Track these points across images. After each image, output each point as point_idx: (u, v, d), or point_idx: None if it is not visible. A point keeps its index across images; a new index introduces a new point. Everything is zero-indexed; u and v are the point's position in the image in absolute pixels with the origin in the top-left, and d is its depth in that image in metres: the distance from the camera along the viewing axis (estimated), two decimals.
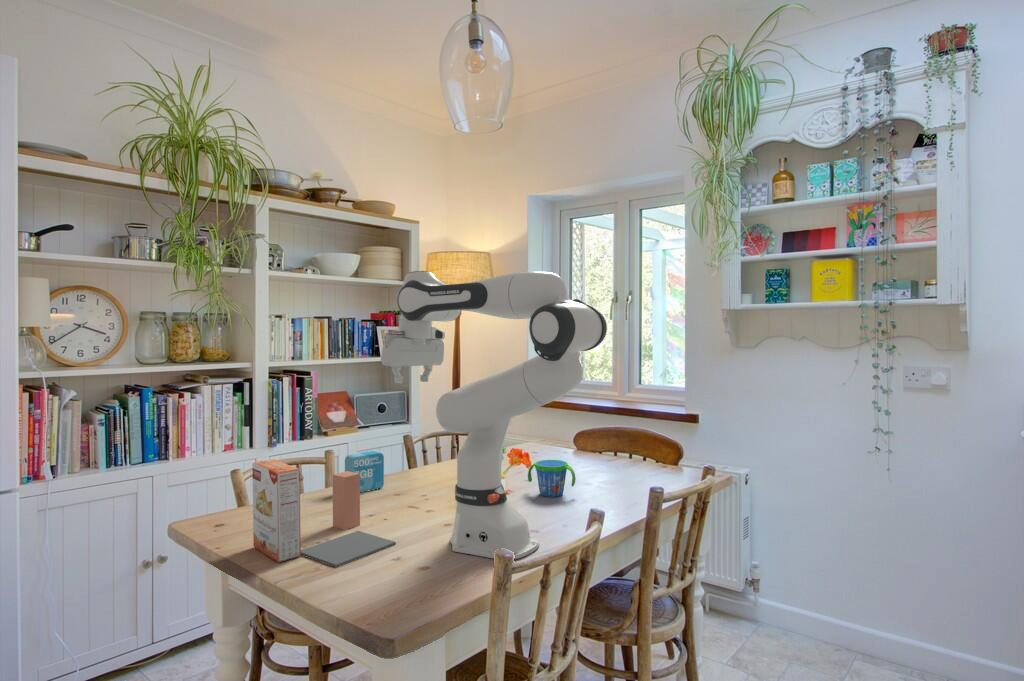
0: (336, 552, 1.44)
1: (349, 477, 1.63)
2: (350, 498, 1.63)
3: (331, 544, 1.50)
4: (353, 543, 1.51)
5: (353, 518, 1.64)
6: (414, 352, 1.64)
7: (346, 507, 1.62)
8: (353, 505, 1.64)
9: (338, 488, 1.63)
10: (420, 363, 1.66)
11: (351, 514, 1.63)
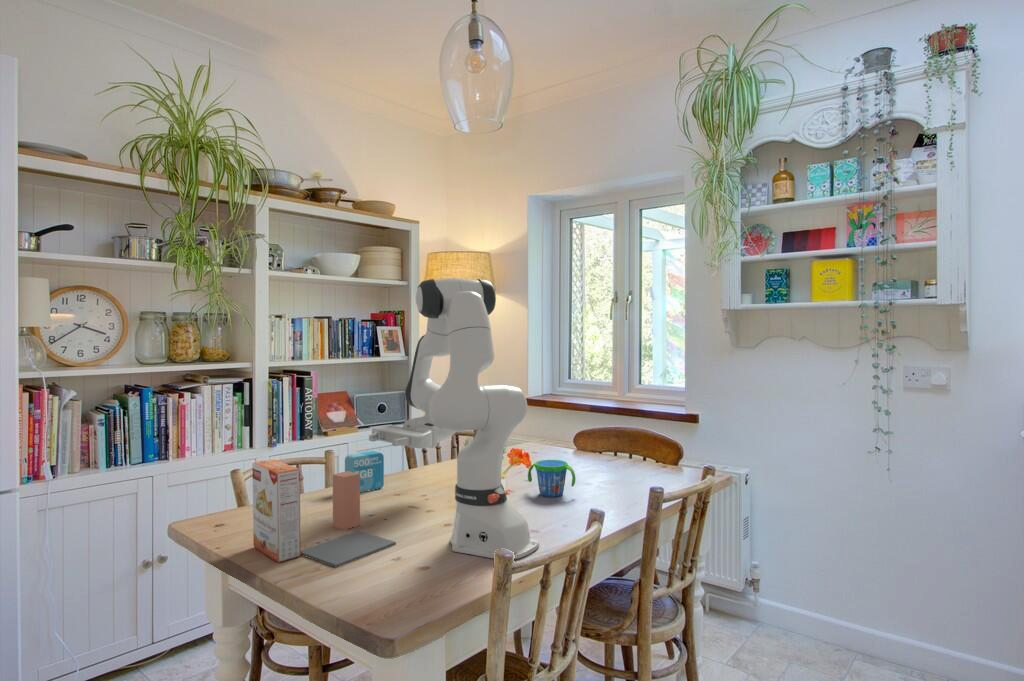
0: (336, 552, 1.44)
1: (349, 477, 1.63)
2: (351, 498, 1.63)
3: (331, 544, 1.50)
4: (353, 543, 1.51)
5: (353, 518, 1.64)
6: (399, 429, 1.83)
7: (346, 507, 1.62)
8: (353, 505, 1.64)
9: (338, 488, 1.63)
10: (398, 431, 1.79)
11: (351, 514, 1.63)
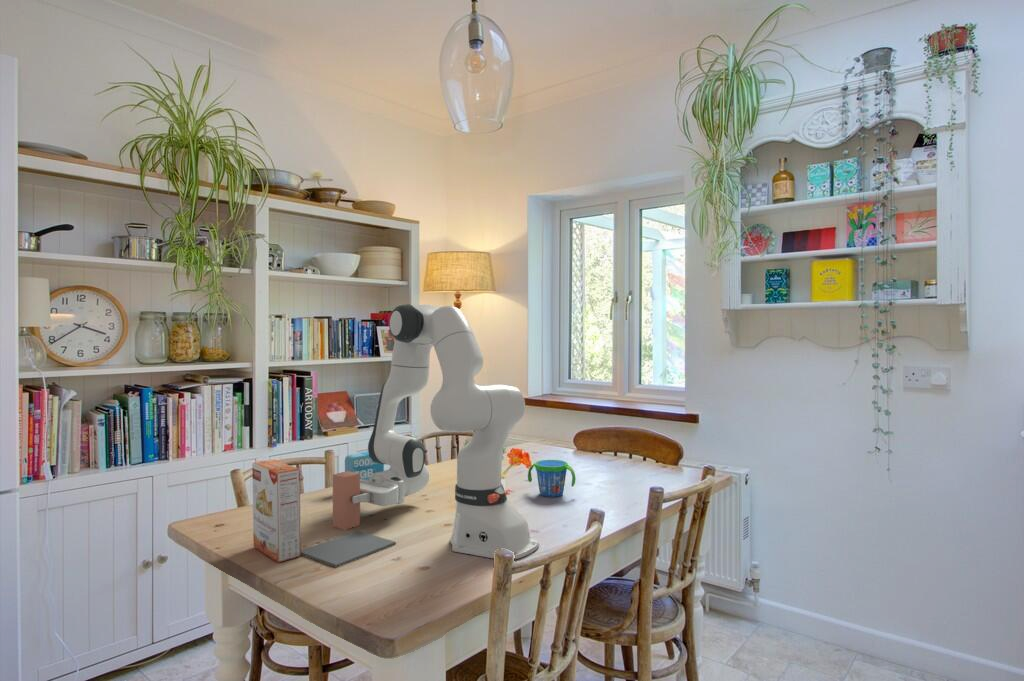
0: (336, 552, 1.44)
1: (349, 477, 1.63)
2: None
3: (331, 544, 1.50)
4: (353, 543, 1.51)
5: (353, 518, 1.64)
6: (364, 484, 1.72)
7: (346, 507, 1.62)
8: (353, 505, 1.64)
9: (338, 488, 1.63)
10: (361, 487, 1.68)
11: (351, 514, 1.63)
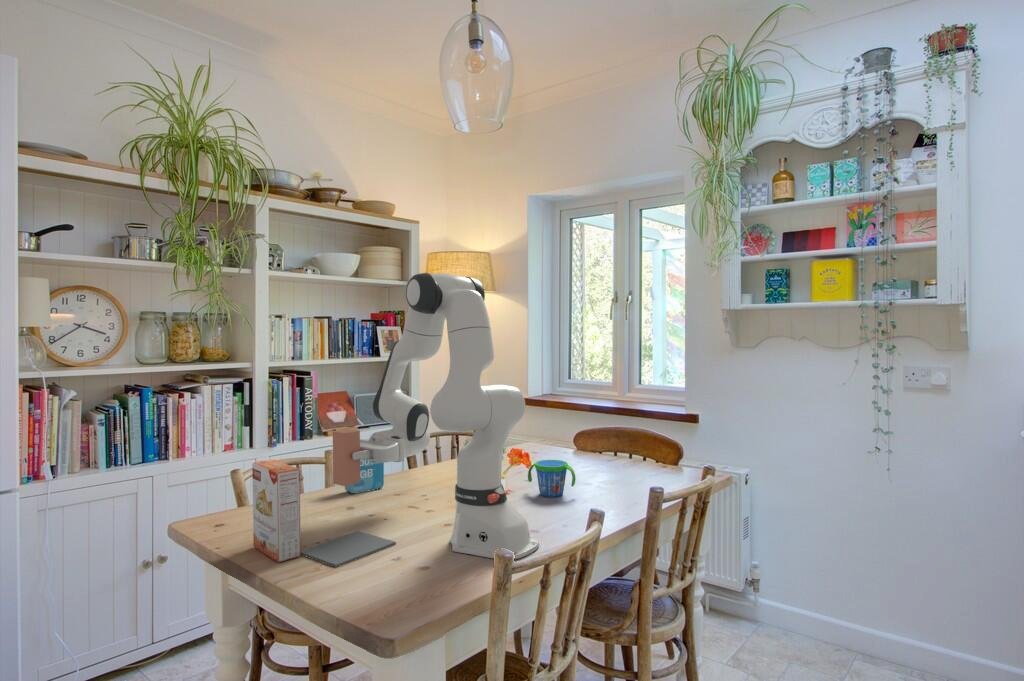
0: (336, 552, 1.44)
1: (349, 433, 1.62)
2: None
3: (331, 544, 1.50)
4: (353, 543, 1.51)
5: (353, 475, 1.64)
6: (364, 442, 1.72)
7: (346, 464, 1.62)
8: (353, 462, 1.64)
9: (338, 445, 1.63)
10: (362, 445, 1.68)
11: (351, 471, 1.63)
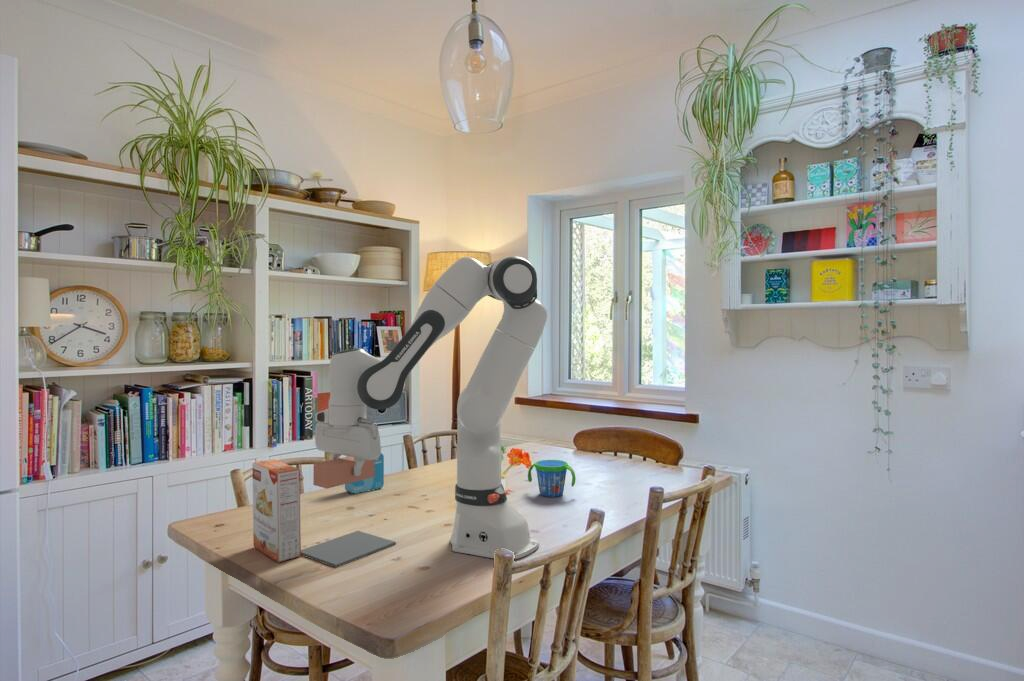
0: (336, 552, 1.44)
1: None
2: None
3: (331, 544, 1.50)
4: (353, 543, 1.51)
5: None
6: None
7: None
8: None
9: None
10: None
11: None
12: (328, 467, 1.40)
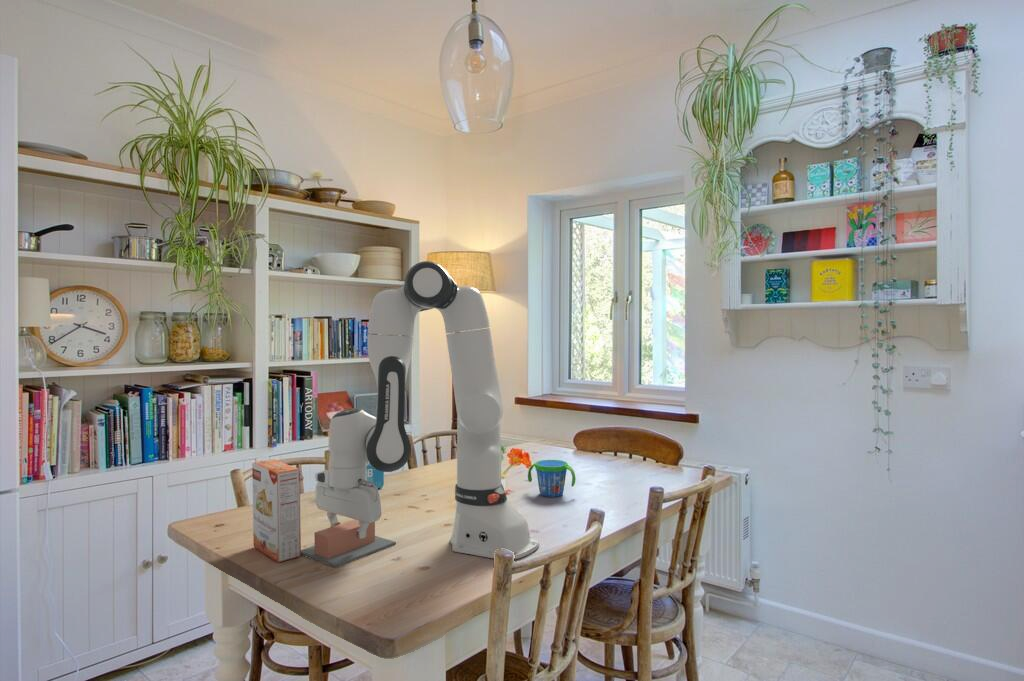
0: None
1: None
2: None
3: None
4: None
5: None
6: None
7: None
8: None
9: None
10: None
11: None
12: (329, 537, 1.41)
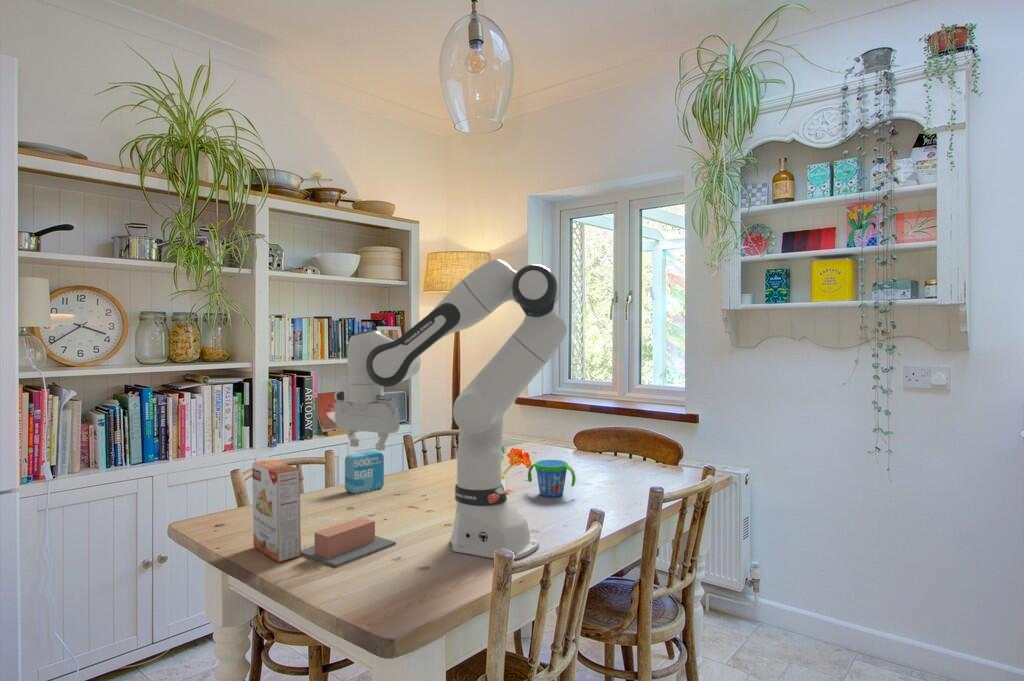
0: None
1: None
2: None
3: None
4: None
5: None
6: None
7: None
8: None
9: None
10: None
11: None
12: (329, 537, 1.41)
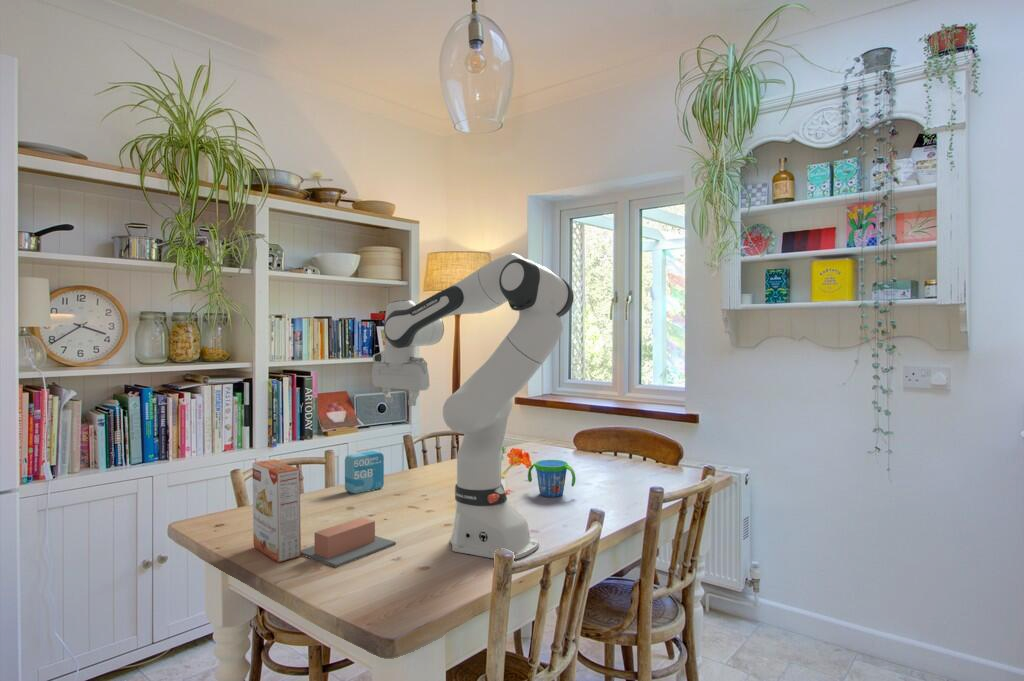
0: None
1: None
2: None
3: None
4: None
5: None
6: None
7: None
8: None
9: None
10: None
11: None
12: (329, 537, 1.41)
